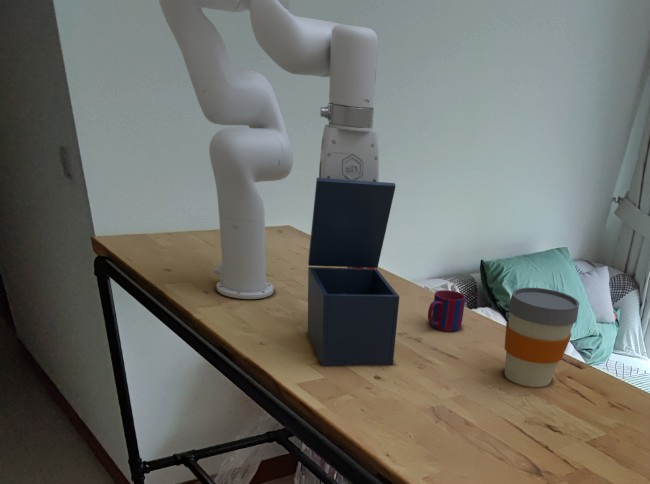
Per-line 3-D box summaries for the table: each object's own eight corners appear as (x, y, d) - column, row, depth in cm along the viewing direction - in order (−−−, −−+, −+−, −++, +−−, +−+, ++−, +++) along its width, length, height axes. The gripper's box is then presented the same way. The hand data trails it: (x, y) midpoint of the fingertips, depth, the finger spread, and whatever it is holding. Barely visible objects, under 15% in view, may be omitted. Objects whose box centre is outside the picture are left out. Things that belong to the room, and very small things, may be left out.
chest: (393, 364, 122) (399, 296, 114) (321, 365, 118) (323, 294, 111) (372, 332, 134) (377, 268, 127) (307, 332, 131) (308, 266, 123)
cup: (467, 328, 142) (472, 297, 138) (435, 336, 137) (439, 304, 133) (445, 319, 146) (450, 288, 142) (413, 326, 140) (417, 294, 136)
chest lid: (395, 186, 111) (394, 182, 111) (317, 180, 107) (316, 177, 107) (377, 268, 126) (377, 265, 127) (308, 265, 123) (308, 262, 123)
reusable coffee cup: (483, 366, 126) (498, 287, 117) (537, 362, 131) (555, 286, 122) (516, 393, 118) (535, 311, 108) (572, 388, 122) (595, 309, 113)
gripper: (310, 116, 104) (309, 238, 115) (399, 125, 109) (389, 241, 120) (303, 111, 110) (302, 227, 121) (387, 119, 114) (379, 231, 125)
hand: (345, 234), depth 120 cm, fingers closed
